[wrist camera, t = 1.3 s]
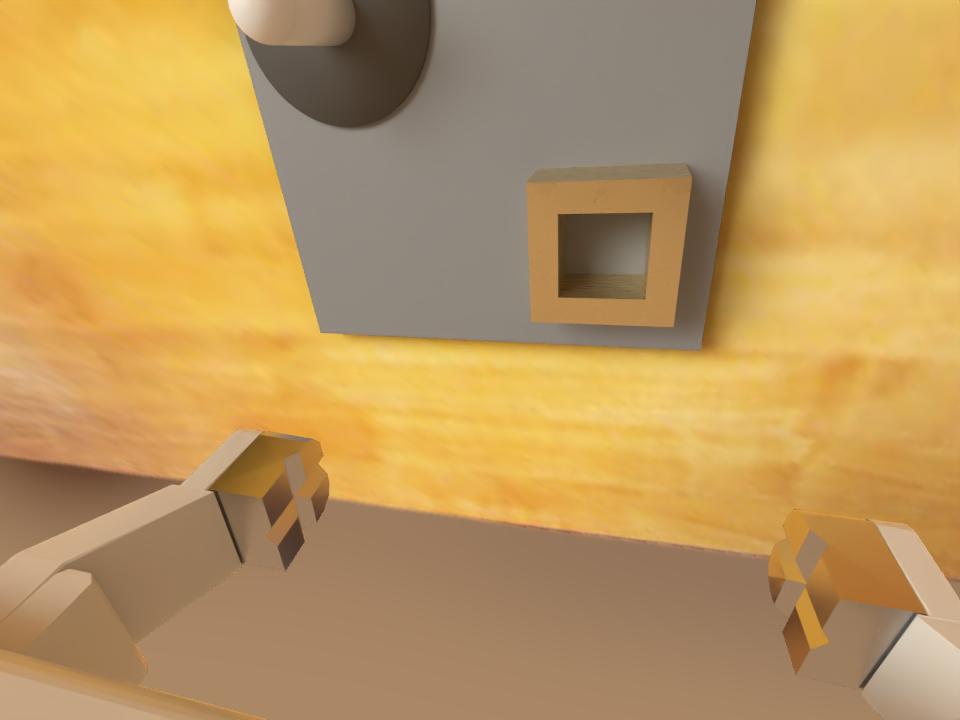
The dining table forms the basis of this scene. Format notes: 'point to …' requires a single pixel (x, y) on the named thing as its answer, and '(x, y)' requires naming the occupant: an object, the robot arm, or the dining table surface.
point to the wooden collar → (607, 294)
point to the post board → (488, 149)
